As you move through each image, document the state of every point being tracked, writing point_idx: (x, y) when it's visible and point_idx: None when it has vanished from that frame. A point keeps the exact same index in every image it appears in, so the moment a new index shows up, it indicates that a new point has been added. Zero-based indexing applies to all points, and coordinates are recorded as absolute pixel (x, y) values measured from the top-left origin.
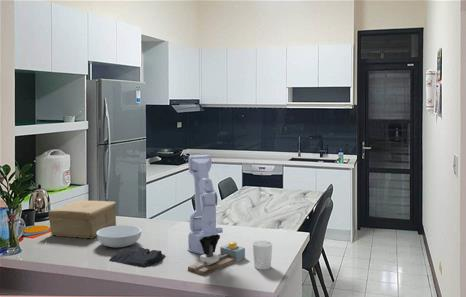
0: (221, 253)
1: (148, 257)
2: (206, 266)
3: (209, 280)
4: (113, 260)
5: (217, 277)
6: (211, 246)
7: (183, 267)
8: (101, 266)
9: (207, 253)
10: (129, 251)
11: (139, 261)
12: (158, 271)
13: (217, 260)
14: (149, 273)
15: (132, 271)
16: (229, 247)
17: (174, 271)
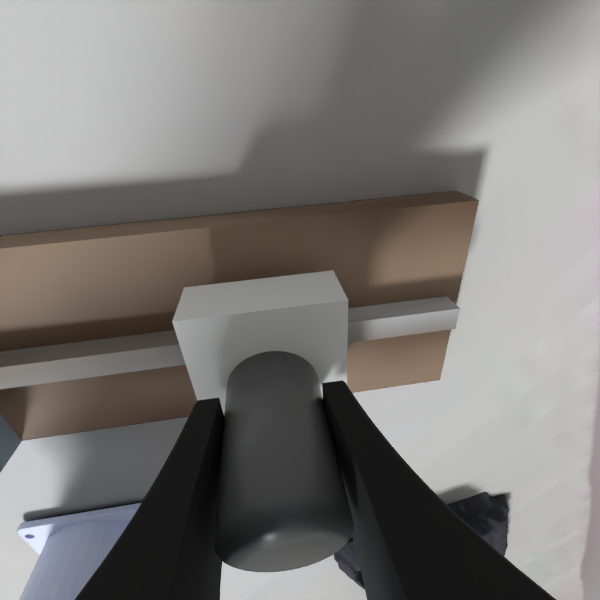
0: (10, 437)
1: None
2: (346, 291)
3: (551, 24)
4: None
5: (431, 15)
6: (295, 491)
7: (400, 408)
8: (560, 554)
9: (353, 397)
10: None
11: (498, 540)
12: (525, 434)
13: (213, 286)
14: (568, 436)
15: (570, 485)
16: None
17: (487, 390)
